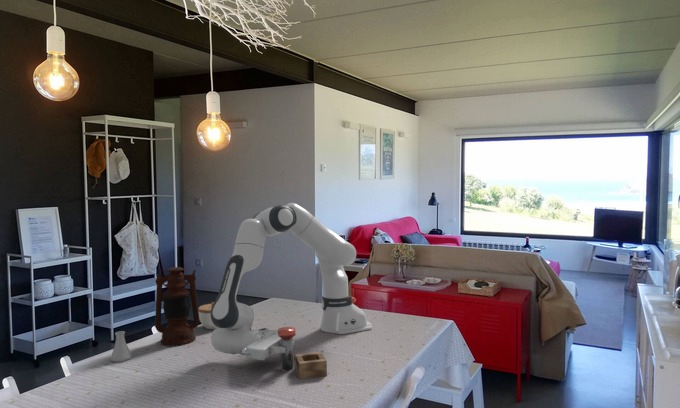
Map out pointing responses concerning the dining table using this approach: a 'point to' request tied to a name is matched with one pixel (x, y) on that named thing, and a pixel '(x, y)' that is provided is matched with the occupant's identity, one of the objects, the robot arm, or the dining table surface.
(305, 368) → the socket block
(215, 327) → the lidded bowl
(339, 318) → the robot arm
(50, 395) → the dining table surface
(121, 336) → the flask
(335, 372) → the dining table surface
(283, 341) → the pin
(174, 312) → the lantern
